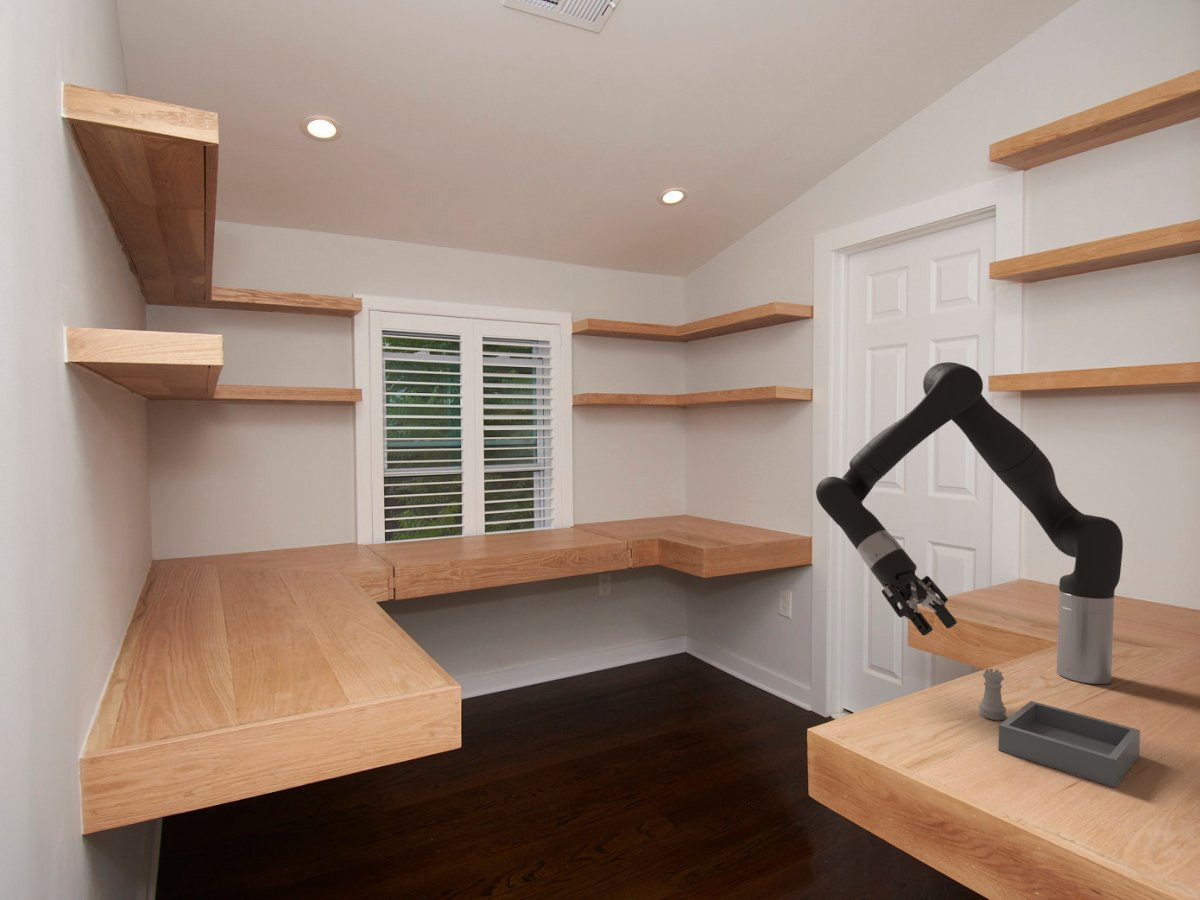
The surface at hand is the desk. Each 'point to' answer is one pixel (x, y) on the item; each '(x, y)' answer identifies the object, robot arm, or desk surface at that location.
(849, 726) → the desk surface
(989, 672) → the rook chess piece
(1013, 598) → the desk surface
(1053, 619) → the desk surface
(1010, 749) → the tray
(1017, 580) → the desk surface
